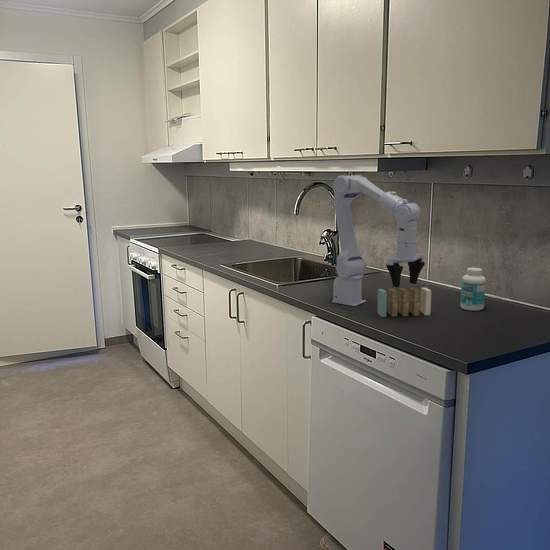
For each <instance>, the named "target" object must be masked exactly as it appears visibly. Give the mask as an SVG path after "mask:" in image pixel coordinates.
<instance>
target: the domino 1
mask: <svg viewBox="0 0 550 550" xmlns="http://www.w3.org/2000/svg"><path fill="white" fill-rule="evenodd" d="M387 303H388V291H386V290H385V289H384V288H378V289H377V312H376V313H377V314H378V315H379V316H380V317H382V318H385V317H387V310H388V309H387V307H388V306H387V305H388V304H387Z"/></svg>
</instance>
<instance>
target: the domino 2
mask: <svg viewBox="0 0 550 550" xmlns="http://www.w3.org/2000/svg"><path fill="white" fill-rule="evenodd" d="M387 303H388V304H387V305H388V306H387V307H388V309H387V313H388V314H390V316H391V317H398V312H399V291H397V289H395V288H388V300H387Z"/></svg>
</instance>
